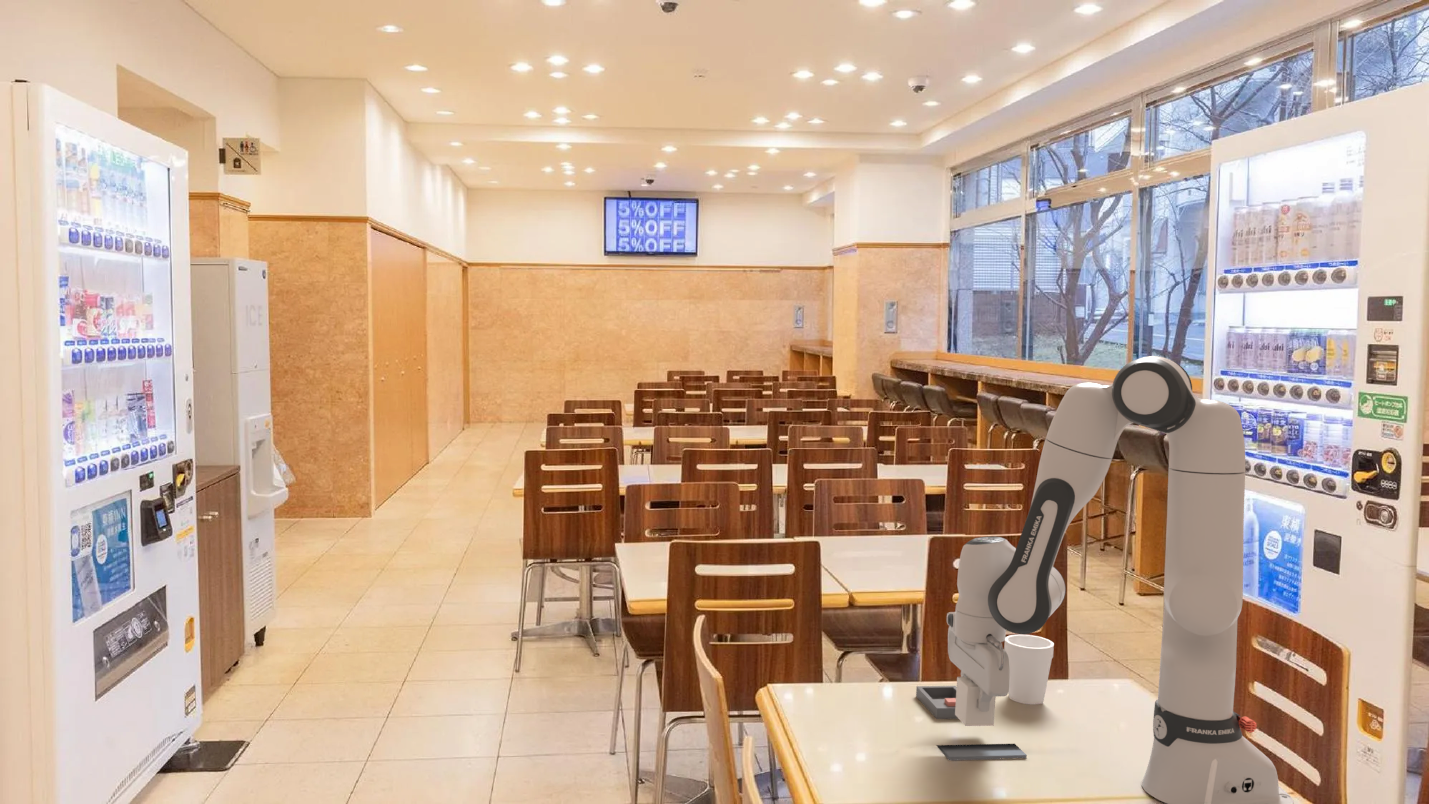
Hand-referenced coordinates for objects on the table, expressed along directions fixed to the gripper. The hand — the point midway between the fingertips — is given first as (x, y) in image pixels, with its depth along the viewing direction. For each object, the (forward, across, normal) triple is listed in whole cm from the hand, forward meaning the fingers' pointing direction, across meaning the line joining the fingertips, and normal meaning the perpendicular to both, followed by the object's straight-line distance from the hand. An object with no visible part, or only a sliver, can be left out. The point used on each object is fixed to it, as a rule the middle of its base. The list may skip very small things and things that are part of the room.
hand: (975, 703), depth 185 cm
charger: (+3, 0, 0) cm, 3 cm away
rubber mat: (+8, 0, 0) cm, 8 cm away
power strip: (+8, +15, 0) cm, 17 cm away
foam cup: (+8, +19, -18) cm, 27 cm away
